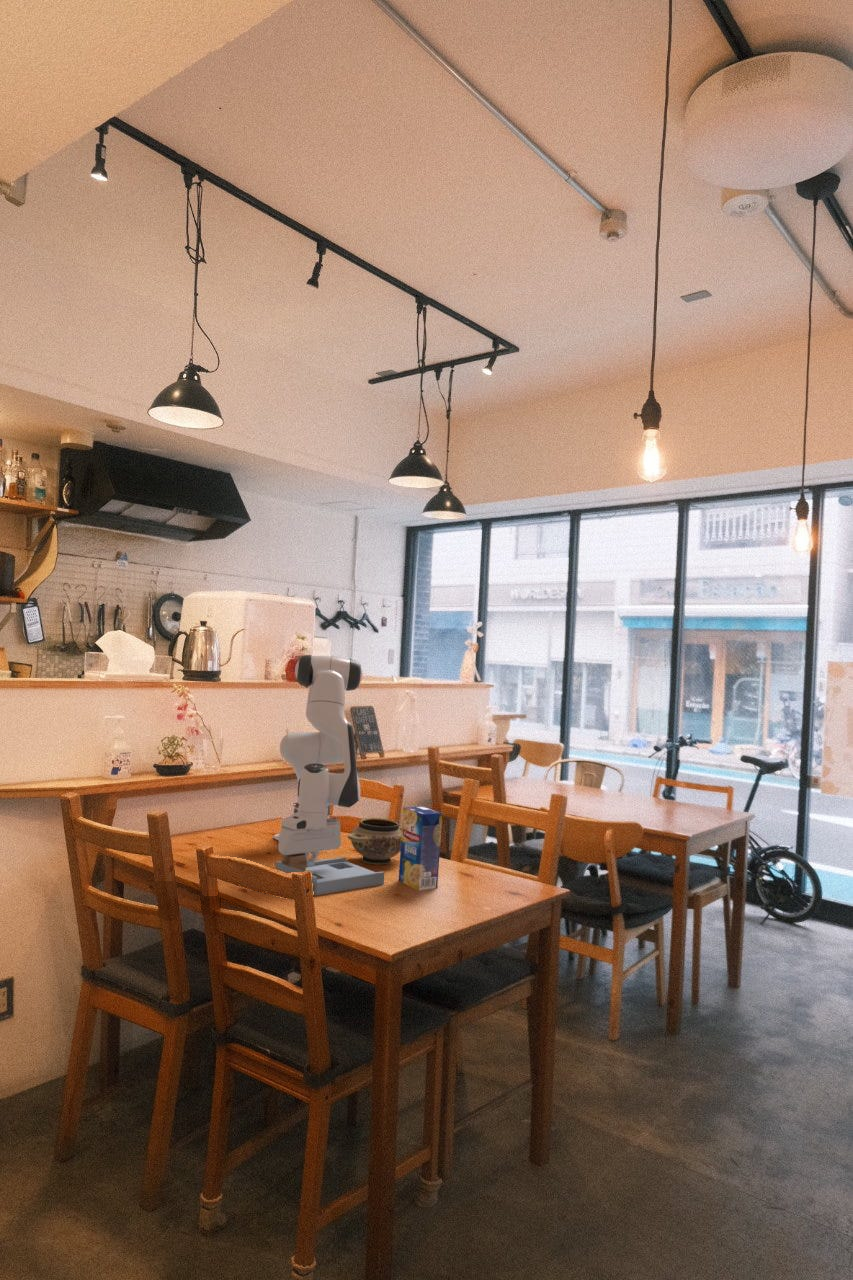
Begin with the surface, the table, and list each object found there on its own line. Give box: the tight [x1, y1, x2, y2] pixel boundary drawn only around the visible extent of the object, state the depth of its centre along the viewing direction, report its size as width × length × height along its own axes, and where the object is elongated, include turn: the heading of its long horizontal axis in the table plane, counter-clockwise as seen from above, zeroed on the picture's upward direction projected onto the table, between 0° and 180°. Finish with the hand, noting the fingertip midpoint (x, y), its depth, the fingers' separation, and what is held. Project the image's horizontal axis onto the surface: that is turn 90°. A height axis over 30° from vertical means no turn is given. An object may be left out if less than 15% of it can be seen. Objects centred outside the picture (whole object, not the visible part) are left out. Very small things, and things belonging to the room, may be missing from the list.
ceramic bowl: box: [347, 817, 402, 865], centre depth 272 cm, size 24×18×15 cm
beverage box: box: [398, 806, 443, 891], centre depth 248 cm, size 7×11×22 cm, turn 34°
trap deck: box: [274, 856, 385, 897], centre depth 244 cm, size 20×25×5 cm
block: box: [281, 853, 306, 871], centre depth 243 cm, size 5×5×5 cm
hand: (309, 866), depth 245 cm, fingers closed
